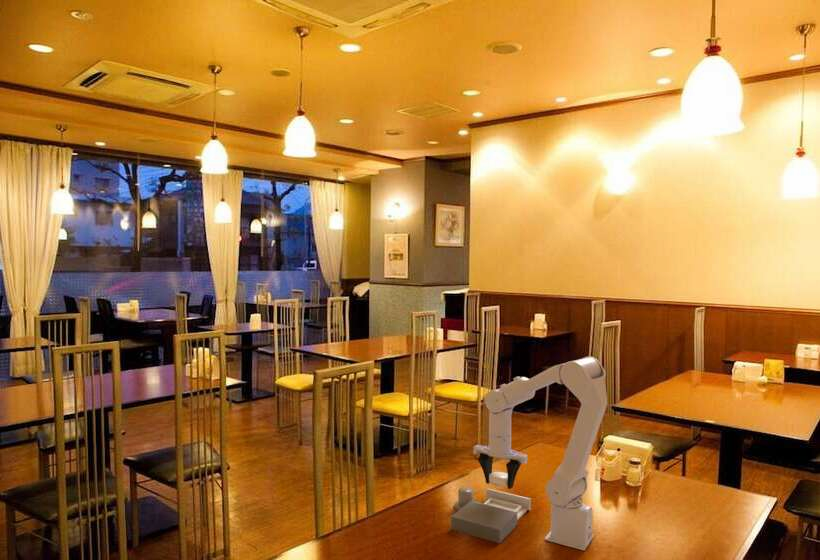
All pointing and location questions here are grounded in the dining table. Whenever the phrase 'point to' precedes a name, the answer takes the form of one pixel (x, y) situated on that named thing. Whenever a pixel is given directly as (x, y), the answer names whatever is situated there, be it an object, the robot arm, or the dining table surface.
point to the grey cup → (464, 497)
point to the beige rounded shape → (498, 478)
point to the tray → (508, 501)
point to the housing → (484, 521)
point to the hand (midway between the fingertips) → (499, 485)
